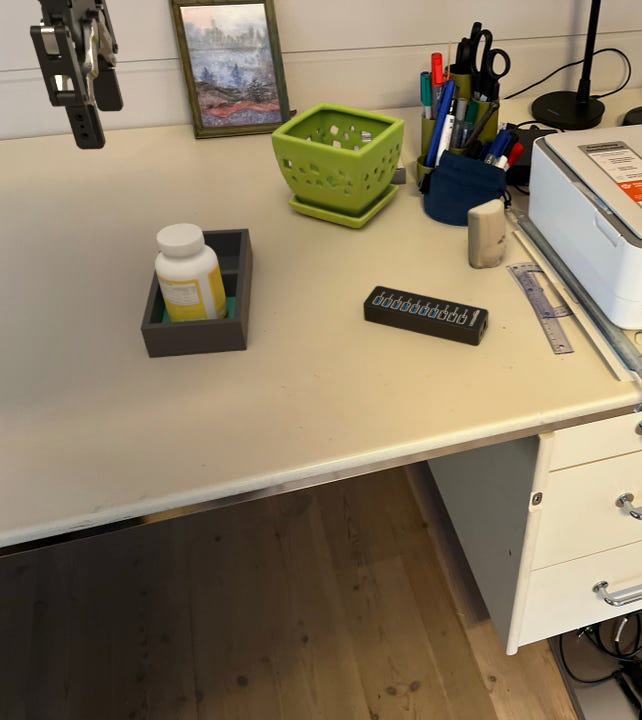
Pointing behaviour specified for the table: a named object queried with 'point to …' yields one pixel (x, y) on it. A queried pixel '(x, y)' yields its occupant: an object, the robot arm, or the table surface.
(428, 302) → the multiport hub
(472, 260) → the cream tall rounded block
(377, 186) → the flower pot
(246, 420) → the table surface
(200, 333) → the dark grey divided tray
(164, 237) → the pill bottle
